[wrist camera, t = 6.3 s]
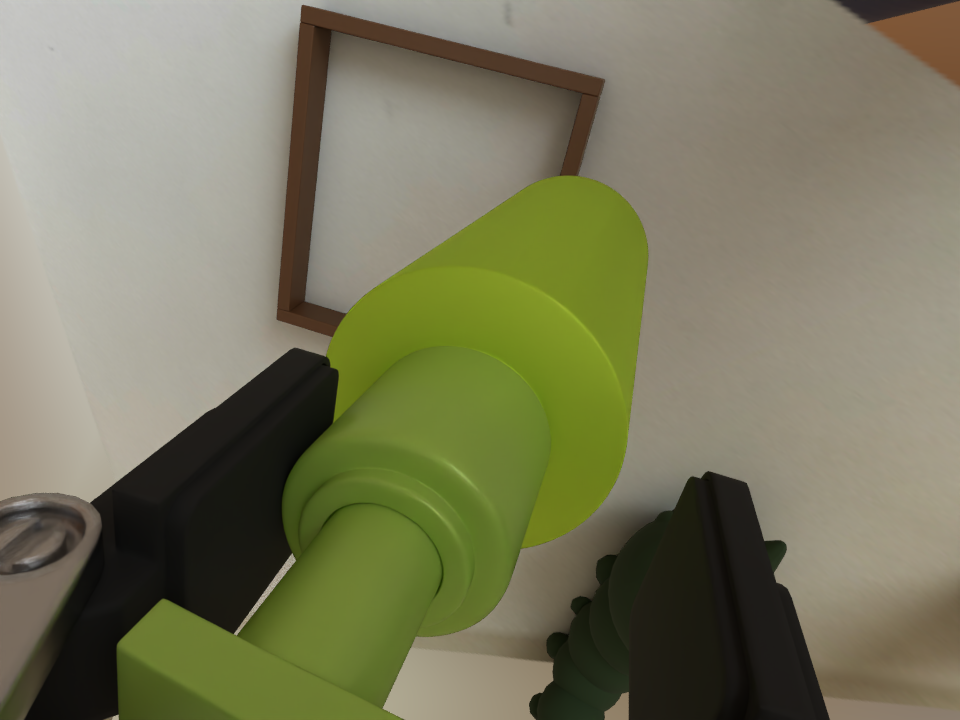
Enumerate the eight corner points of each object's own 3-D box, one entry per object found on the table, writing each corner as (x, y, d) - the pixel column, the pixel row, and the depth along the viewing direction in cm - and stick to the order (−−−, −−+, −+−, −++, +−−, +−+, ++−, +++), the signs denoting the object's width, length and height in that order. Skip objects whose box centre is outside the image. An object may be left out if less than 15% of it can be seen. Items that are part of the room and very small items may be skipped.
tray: (332, 11, 35) (300, 4, 31) (606, 79, 33) (603, 79, 30) (303, 301, 42) (275, 319, 39) (524, 368, 41) (514, 393, 37)
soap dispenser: (643, 361, 24) (572, 1132, 6) (474, 304, 25) (-9, 830, 7) (703, 211, 21) (880, 798, 4) (511, 155, 22) (-96, 397, 5)
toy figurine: (612, 673, 52) (830, 485, 39) (586, 968, 36) (942, 820, 23) (514, 618, 52) (697, 410, 38) (444, 888, 36) (716, 692, 22)
